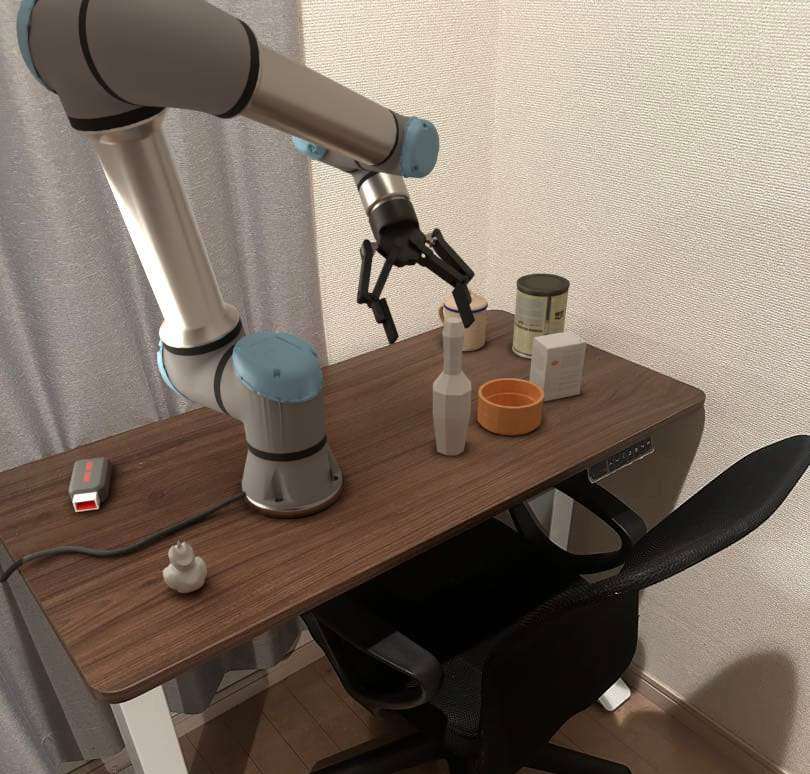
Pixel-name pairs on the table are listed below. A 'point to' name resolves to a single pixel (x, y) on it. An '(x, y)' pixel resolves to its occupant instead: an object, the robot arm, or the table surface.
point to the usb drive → (90, 483)
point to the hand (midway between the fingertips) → (432, 332)
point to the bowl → (510, 406)
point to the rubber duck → (184, 569)
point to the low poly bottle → (452, 393)
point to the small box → (558, 364)
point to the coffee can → (538, 309)
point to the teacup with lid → (476, 331)
